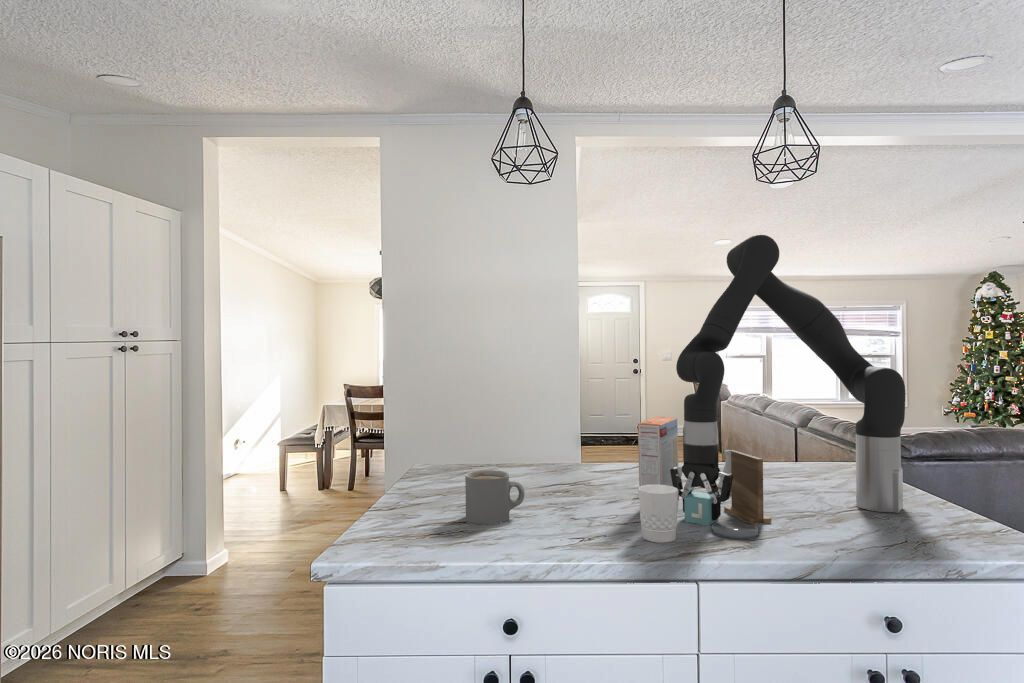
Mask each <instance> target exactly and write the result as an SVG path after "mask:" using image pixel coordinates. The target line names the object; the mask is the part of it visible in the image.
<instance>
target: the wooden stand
mask: <svg viewBox="0 0 1024 683" xmlns="http://www.w3.org/2000/svg"><path fill="white" fill-rule="evenodd" d="M731 474H733V481H732V486H731V492H730V494H731V506H723V508H724V509H723V511H724V512H725V513H726V514H727V513H728V514H729V515H731V516H733V517H735V518H737V519H739V520H741V521H742V522H745V523H746V524H749V525H760V523H762V524H771V523H772V517H769V516H767V515H765V514H764V459H763V458H761V457H757V456H754V455H750V454H747V453H743V452H741V451H739V450H734V451H731Z"/></svg>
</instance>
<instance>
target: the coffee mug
mask: <svg viewBox="0 0 1024 683" xmlns="http://www.w3.org/2000/svg"><path fill="white" fill-rule="evenodd" d="M464 476H465V479H464V480H465V520H466V522H469V523H470V524H476V525H483V524H488V525H496V524H495V523H498V524H501V523H500V522H503V523H505V522H507V521H509V520H510V512H511V511H512V510H513V509H515V508H516V507H518V506H521V504H523V502H524V500H525V489H524V486H523V483H521V482H520V481H519V480H510V474H509V472H506V471H504V470H498V469H494V470H493V469H484V470H483V469H482V470H474V471H470V472H467V473H466V474H465V475H464ZM513 487H514V488H516V489H517V491H518V496H517V498H516V499H512V498H511V494H510V493H511V489H512V488H513ZM508 519H509V520H508ZM506 520H507V521H506ZM504 521H505V522H504Z"/></svg>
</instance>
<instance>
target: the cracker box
mask: <svg viewBox="0 0 1024 683" xmlns="http://www.w3.org/2000/svg"><path fill="white" fill-rule="evenodd" d="M678 430H679V429H678V417H669V416H655V417H651V418H649V419H648V420H645V421H642V422H639V423H637V438H638V439H637V442H638V443H637V448H638V483H639V486H638V488H639V487H640V486H644V485H668V486H672V487H673V484H672V479H671V473H670V470H671V469H672V468H674V467H678V468H679V437H678V434H679V431H678ZM679 501H680V496H679V495H678V502H679Z"/></svg>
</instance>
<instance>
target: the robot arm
mask: <svg viewBox="0 0 1024 683" xmlns="http://www.w3.org/2000/svg"><path fill="white" fill-rule="evenodd" d="M779 259H780V248H779V245H778V243H777V242H776V241H775V240H774V238H772V237H771V236H769V235H766V234H761V233H758V234H755V235H751V236H750V237H748V238H746V239H745V240H742V242H740V243H738V244H737V245H736V246H734V247H733V248H731V249H730V251H728V253H727V255H726V266H727V267H728V270H729V271H730V273H731V275H732V276H733V278H732V279H731V282H730V283H729V285H728V287H727V288H726V289H725V290H724V291H723V293H721V295H720V296H719V298H718V299H717V300H716V301H715V303H714V304H713V306H712V307H711V309H710V311H709V312H708V314H707V316H706V318H705V319H704V322H703V324H702V326H701V327H700V329H699V330H700V331H699V332H698V333H697V334H696V335H695V336H694V337H693V338H692V339H691V340H690V341H689V342H688V344H687V345H686V346H685V347H684V348H683V350H682V351H681V353H680V354H679V355H678V357H677V361H676V364H675V365H676V367H675V370H676V373H677V376H678V378H679V379H680V380H681V381H683V382H687V383H692V384H694V383H695V384H698V385H697V386H698V387H697V389H696V392H693V393H690V394H687V395H686V396H685V397H684V401H683V427H682V428H683V429H682V455H683V457H682V460H683V465H682V466H681V467H679V466H678V467H674V468H672V469H671V470H670V473H671V479H672V484H673V487H675V488H677V489H678V495H679V497H681V499H682V512H683V514H685V506H684V497H685V496H687V495H689V494H691V493H693V492H694V490H695V488H697V487H699V488H702V489H705V490H706V492H707V493H706V494H709V495H710V498H711V500H712V502H713V503H712V520H717V519H718V520H719V518H720V517H721V514H722V513H721V512H722V511H721V510H722V508H721V505H722V504H721V503H724V502H726V501H728V500H729V499H730V496H731V486H732V481H733V474H731V473H729V474H726V473H723V471H721V469H720V467H719V461H720V460H719V428H718V410H717V407H718V406H717V403H718V400H719V396H720V392H721V388H722V384H723V381H724V376H725V364H724V360H723V359H722V357H721V356H720V355H719V354H718V353H719V352H721V351H724V350H725V349H728V347H729V345H730V344H731V342H732V339H733V337H734V335H735V333H736V331H737V330H738V327H739V324H740V322H741V321H742V319H743V317H744V315H745V313H746V311H747V310H748V307H749V306H750V304H751V302H752V300H753V299H754V297H755V296H757V297H758V298H759V299H760V300H761V301H762V302H763V303H764V304H765V305H766V306H767V307H769V309H771V311H773V312H774V314H775V315H777V317H779V319H781V321H782V322H783V323H784V324H786V326H787V327H788V328H789V329H790V331H792V332H793V333H794V334H795V335H796V337H797V338H799V339H800V340H801V342H803V343H804V344H805V345H806V346H807V348H809V349H810V350H811V351H812V352H813V353H814V354H815V355H816V356H817V357H818V358H819V360H822V362H824V364H826V365H827V367H829V368H830V369H831V371H832V372H833V373H834V374H835V376H837V378H838V380H839V381H840V382H841V383H842V384H843V386H844V387H845V388H846V389H847V391H848V392H849V393H850V394H851V396H852V397H853V398H854V399H855V400H856V401H858V402H860V403H862V404H864V406H863V415H862V417H861V419H860V420H858V421H856V423H855V492H856V493H855V500H856V501H855V503H856V506H857V507H858V508H859V509H864V510H867V511H871V512H873V511H874V512H881V513H895V514H896V513H898V514H899V513H901V511H902V509H903V508H904V494H903V493H904V489H903V488H904V487H903V486H904V484H903V477H904V476H903V467H902V465H901V464H902V459H901V458H902V455H901V454H902V450H901V448H902V447H901V433H902V432H901V431H902V427H903V425H904V423H905V418H906V416H905V415H906V385H905V381H904V378H903V377H902V375H901V374H900V373H899V372H898V371H897V370H895V369H893V368H889V367H884V366H883V367H882V366H874V365H873V364H871V363H870V362H869V361H868V360H866V359H865V358H864V357H863V356H862V355H861V354H860V353H859V352H858V351H857V350H856V349H855V348H854V347H853V345H852V344H851V342H850V341H849V338H848V336H847V333H846V331H845V329H844V327H843V325H842V323H841V321H840V320H839V319H838V318H837V316H836V315H835V314H834V313H833V311H831V310H830V309H829V308H828V307H827V306H826V305H825V304H824V303H823V302H821V300H819V298H816V297H815V296H813V295H811V294H808V292H807V293H806V292H805V291H803V290H800V289H798V288H795V287H793V286H791V285H789V284H787V283H785V282H784V281H782V280H781V279H779V277H778V276H776V275H775V274H774V273H773V272H772V271H773V270H774V268H775V267H776V265H777V264H778V261H779ZM683 475H684V477H685V479H686V482H685V484H684V485H683V480H682V477H683ZM718 479H719V480H720V479H721V482H722V483H723V484H722V488H721V491H720V492H719V487H718V484H717V480H718ZM718 520H717V521H718Z"/></svg>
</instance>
